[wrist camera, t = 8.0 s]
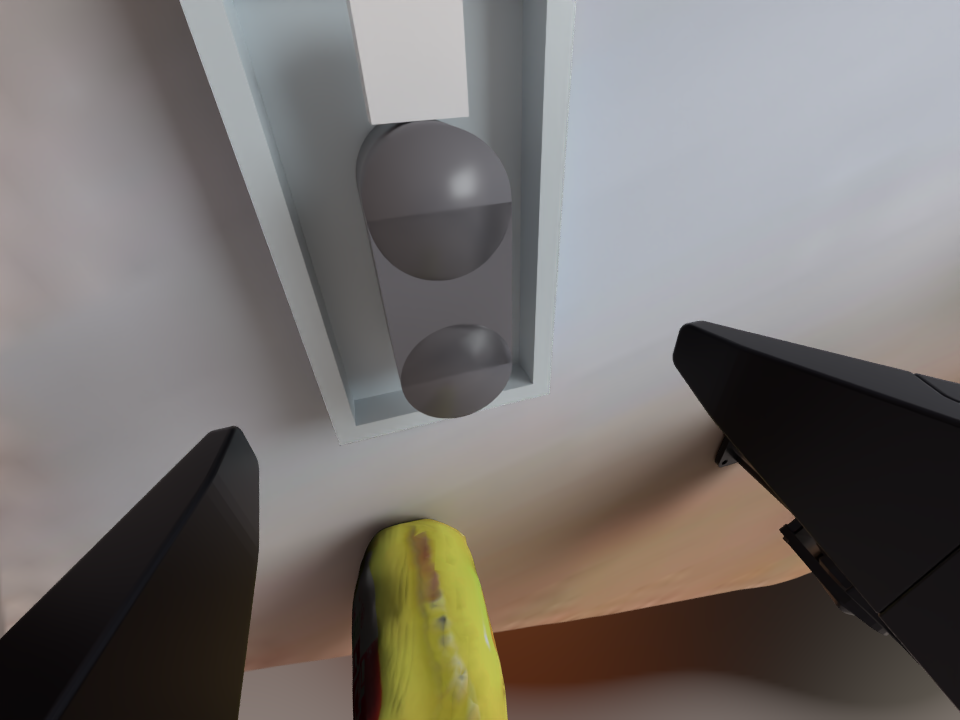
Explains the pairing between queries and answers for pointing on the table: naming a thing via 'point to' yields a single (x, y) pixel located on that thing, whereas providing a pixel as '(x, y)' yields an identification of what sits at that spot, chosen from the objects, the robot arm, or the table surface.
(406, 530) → the bottle
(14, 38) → the table surface
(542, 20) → the dock tray
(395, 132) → the plug
